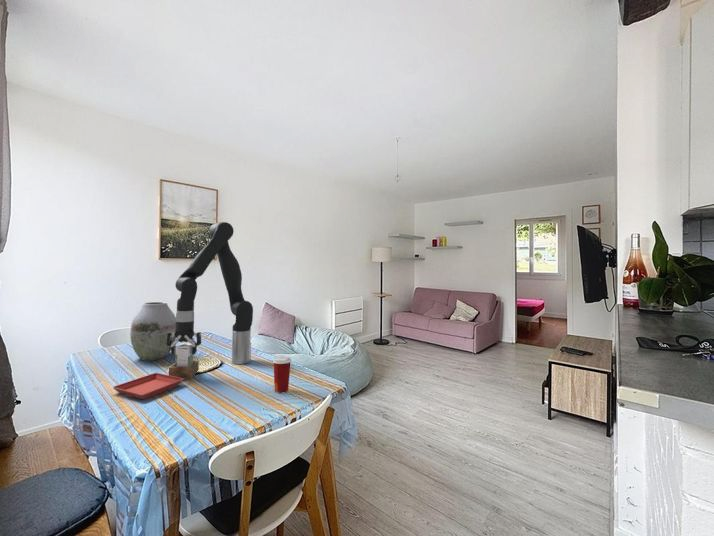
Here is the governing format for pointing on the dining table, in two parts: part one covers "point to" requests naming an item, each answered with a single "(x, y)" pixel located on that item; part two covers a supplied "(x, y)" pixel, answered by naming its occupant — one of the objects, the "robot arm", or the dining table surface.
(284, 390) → the paper cup
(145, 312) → the vase
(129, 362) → the dining table surface
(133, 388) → the plant saucer
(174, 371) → the holder
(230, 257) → the robot arm
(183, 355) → the syrup box
